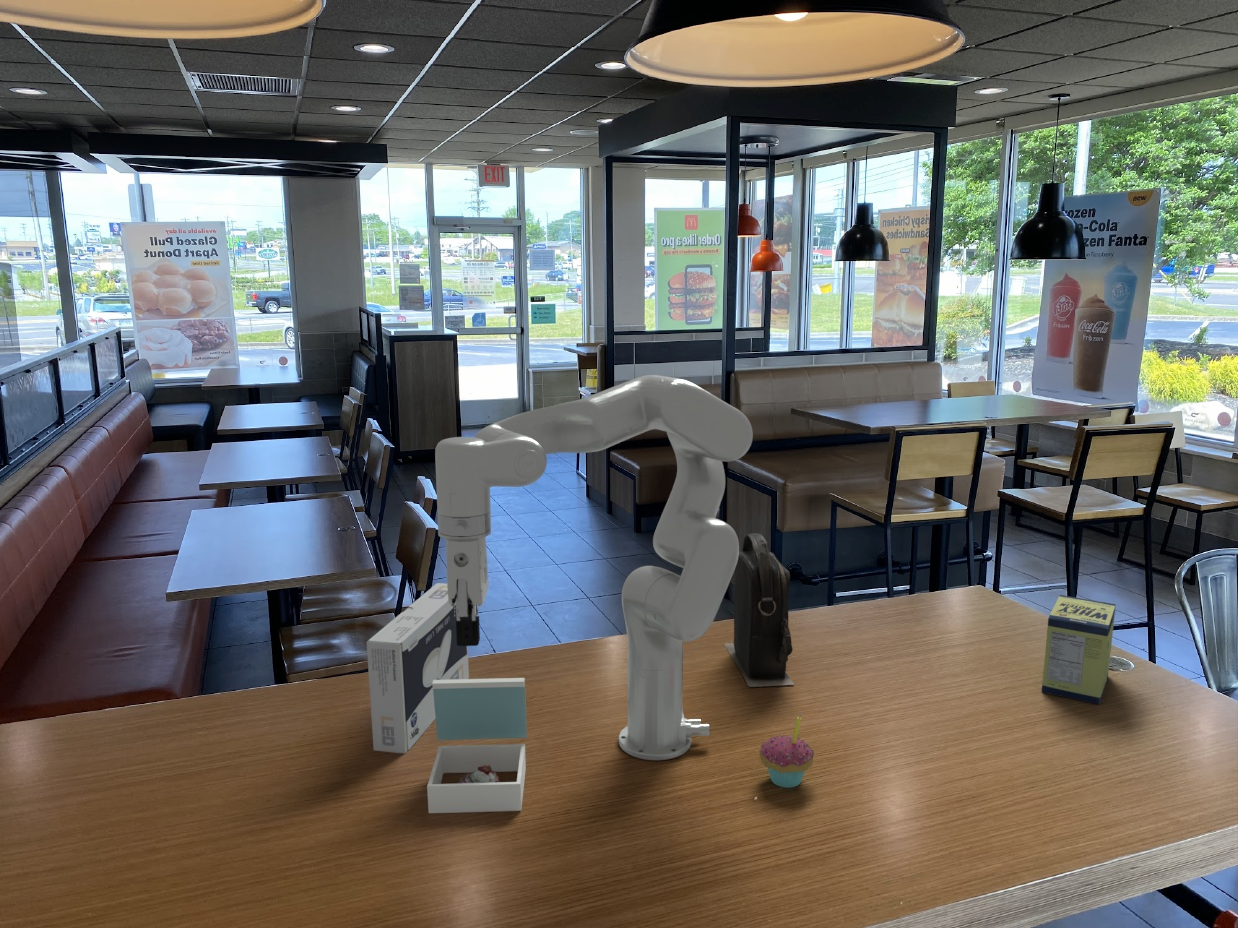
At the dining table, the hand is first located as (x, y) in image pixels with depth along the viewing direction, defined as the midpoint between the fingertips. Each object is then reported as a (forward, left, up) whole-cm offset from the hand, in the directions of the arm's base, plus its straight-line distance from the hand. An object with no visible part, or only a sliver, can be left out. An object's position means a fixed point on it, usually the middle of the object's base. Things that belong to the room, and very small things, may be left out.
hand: (468, 643), depth 135 cm
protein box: (-114, -37, -27) cm, 123 cm away
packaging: (+13, -32, -27) cm, 44 cm away
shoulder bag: (-53, -50, -27) cm, 78 cm away
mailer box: (0, -5, -27) cm, 27 cm away
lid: (0, -10, -16) cm, 19 cm away
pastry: (0, -3, -27) cm, 27 cm away
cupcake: (-49, -5, -27) cm, 56 cm away
